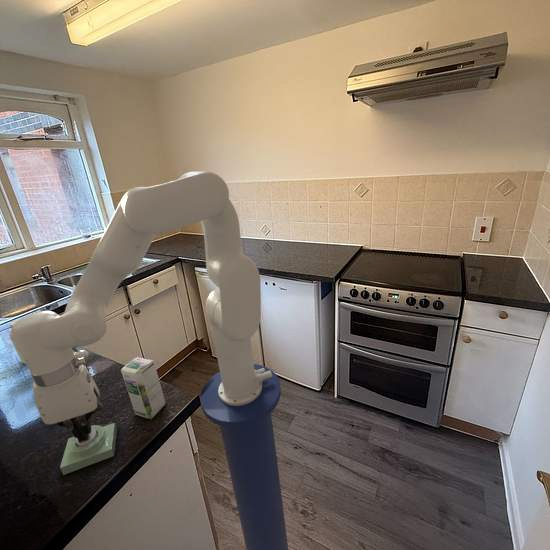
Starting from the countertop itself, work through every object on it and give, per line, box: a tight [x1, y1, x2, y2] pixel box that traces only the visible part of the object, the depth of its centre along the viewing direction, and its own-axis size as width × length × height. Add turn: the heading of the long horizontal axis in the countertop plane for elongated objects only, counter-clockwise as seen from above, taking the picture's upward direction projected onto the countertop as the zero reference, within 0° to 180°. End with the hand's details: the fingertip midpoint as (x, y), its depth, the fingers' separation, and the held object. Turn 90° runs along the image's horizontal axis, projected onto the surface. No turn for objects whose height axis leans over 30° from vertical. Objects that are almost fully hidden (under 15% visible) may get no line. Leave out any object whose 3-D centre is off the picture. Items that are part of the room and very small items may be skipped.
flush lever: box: [73, 349, 90, 361], centre depth 91 cm, size 13×3×3 cm, turn 81°
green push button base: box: [59, 422, 118, 476], centre depth 68 cm, size 10×8×4 cm
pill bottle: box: [9, 318, 27, 365], centre depth 105 cm, size 8×8×15 cm
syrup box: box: [120, 356, 167, 420], centre depth 77 cm, size 6×6×14 cm
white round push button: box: [76, 429, 98, 447], centre depth 68 cm, size 4×4×2 cm
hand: (84, 436), depth 67 cm, fingers closed
